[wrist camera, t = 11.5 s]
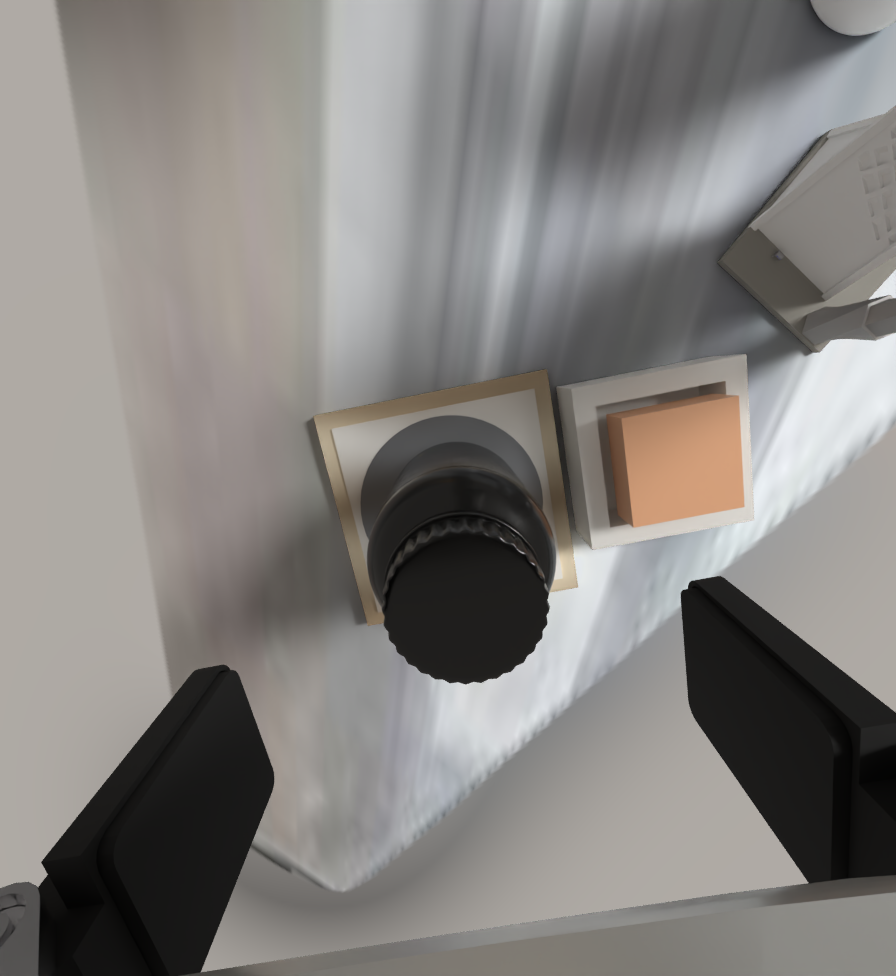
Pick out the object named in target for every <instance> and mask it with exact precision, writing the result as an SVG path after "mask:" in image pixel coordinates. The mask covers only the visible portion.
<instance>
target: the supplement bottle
mask: <svg viewBox="0 0 896 976" xmlns="http://www.w3.org/2000/svg"><path fill="white" fill-rule="evenodd" d="M367 569H368V575H369V580H370V584H371V587H372V590H373V592H374V595H375V597H376V599H377V601H378V602H379V604H380V606H381V607H382V608H381V609H382V612H383V615H384V616H385V617H384V627H385V628H386V629H387V630H388V632H389V633H388V635H389V640H390V641H391V642H392V643H393V644H394V645H395V646H396V650H397V652H398V653H399V654H400V655H402V656H404V657H405V659H406V661H407V662H408V664H410V665H413V666H415V667H417V669H418V670H419V671H420V672H421V673H425V674H429V675H431V677H433V678H434V679H443V680H445V681H447V682H449V683H455V682H460V683H463V684H469V683H472V682H479V683H482V682H484V681H486V680H488V679H497V678H498V677H499V676H501V675H502V674H503V673H508V672H511V671H512V670H513V669H514V668H515V666H517V665H519V664H521V663H523V662H524V661H525V659H526V657H527V656H528V655H529V654H531V653H532V652H534V650H535V647H536V644H537V643H538V642H539V641H540V640H541V639H542V635H543V634H542V631H543V629H544V628H545V627H546V625H547V617H546V616H547V614H548V612H549V609H550V606H549V603H548V601H547V599H548V595H549V592H550V590H551V587H552V584H553V581H554V576H555V571H556V546H555V540H554V536H553V532H552V529H551V526H550V524H549V522H548V520H547V518H546V516H545V514H544V512H543V510H542V509H541V507H540V506H539V504H538V503H537V502H536V500H535V499H534V497H533V496H532V495H531V494H530V492H529V491H528V490H527V488H526V487H525V486H524V484H523V483H522V482H521V480H520V479H519V478H518V476H517V475H516V474H515V472H514V471H513V470H512V469H511V467H510V466H509V465H508V464H507V463H506V462H505V461H504V460H503V459H502V458H501V457H500V456H498V455H497V454H495V453H494V452H492V451H491V450H489V449H487V448H485V447H482V446H480V445H477V444H473V443H468V442H446V443H441V444H438V445H435V446H432V447H430V448H428V449H426V450H424V451H422V452H420V453H419V454H418V455H416V456H415V457H414V458H413V459H411V460H410V461H409V462H408V463H407V465H406V466H405V467H404V468H403V470H402V471H401V472H400V474H399V476H398V477H397V479H396V481H395V483H394V485H393V487H392V489H391V490H390V492H389V494H388V496H387V498H386V500H385V502H384V504H383V506H382V508H381V510H380V512H379V514H378V516H377V518H376V520H375V523H374V525H373V528H372V531H371V534H370V538H369V543H368V549H367Z"/></svg>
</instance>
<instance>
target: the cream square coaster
mask: <svg viewBox="0 0 896 976" xmlns="http://www.w3.org/2000/svg"><path fill="white" fill-rule="evenodd" d="M313 417H314V421H315V425H316V429H317V433H318V436H319V440H320V444H321V448H322V452H323V456H324V459H325V463H326V467H327V471H328V475H329V479H330V482H331V486H332V490H333V494H334V498H335V502H336V505H337V509H338V513H339V517H340V521H341V525H342V528H343V532H344V536H345V540H346V544H347V548H348V551H349V555H350V559H351V563H352V567H353V571H354V574H355V578H356V582H357V586H358V590H359V594H360V597H361V601H362V605H363V609H364V613H365V617H366V620H367V624H368V626H370V625H375V624H381V623H384V617H385V616H384V615H383V612H382V609H381V608H382V607H381V606H380V604H379V602H378V601H377V599H376V597H375V595H374V592H373V590H372V587H371V584H370V580H369V575H368V569H367V549H368V543H369V538H370V534H371V531H372V528H373V525H374V523H375V520H376V518H377V516H378V514H379V512H380V510H381V508H382V506H383V504H384V502H385V500H386V498H387V496H388V494H389V492H390V490H391V489H392V487H393V485H394V483H395V481H396V479H397V477H398V476H399V474H400V472H401V471H402V470H403V468H404V467H405V466H406V465H407V463H408V462H409V461H410V460H411V459H413V458H414V457H415V456H416V455H418V454H419V453H420V452H422V451H424V450H426V449H428V448H430V447H432V446H435V445H438V444H441V443H446V442H468V443H473V444H477V445H480V446H482V447H485V448H487V449H489V450H491V451H492V452H494V453H495V454H497V455H498V456H500V457H501V458H502V459H503V460H504V461H505V462H506V463H507V464H508V465H509V466H510V467H511V469H512V470H513V471H514V472H515V474H516V475H517V476H518V478H519V479H520V480H521V482H522V483H523V484H524V486H525V487H526V488H527V490H528V491H529V492H530V494H531V495H532V496H533V497H534V499H535V500H536V502H537V503H538V504H539V506H540V507H541V509H542V510H543V512H544V514H545V516H546V518H547V520H548V522H549V524H550V526H551V529H552V532H553V536H554V540H555V546H556V571H555V576H554V581H553V584H552V587H551V590H550V592H555V591H561V590H566V589H572V588H577V587H578V583H577V576H576V569H575V562H574V555H573V548H572V541H571V534H570V527H569V520H568V513H567V506H566V499H565V492H564V485H563V478H562V471H561V464H560V457H559V450H558V443H557V436H556V429H555V422H554V415H553V408H552V401H551V394H550V387H549V380H548V373H547V369H544V370H539V371H534V372H529V373H524V374H519V375H514V376H509V377H504V378H499V379H494V380H489V381H484V382H479V383H474V384H469V385H464V386H459V387H454V388H449V389H444V390H439V391H434V392H429V393H424V394H419V395H414V396H409V397H404V398H399V399H394V400H389V401H384V402H379V403H374V404H369V405H364V406H359V407H354V408H349V409H344V410H339V411H334V412H329V413H324V414H319V415H315V416H313ZM550 592H549V593H550Z"/></svg>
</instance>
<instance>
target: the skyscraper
mask: <svg viewBox="0 0 896 976" xmlns="http://www.w3.org/2000/svg"><path fill="white" fill-rule="evenodd" d="M717 263H718V264H719V265H720V266H721V267H722V268H723V269H724V270H726V271H727V272H728V273H729V274H730V275H731V276H732V277H733V278H734V279H735V280H736V281H737V282H738V283H739V284H740V285H742V286H743V287H744V288H745V289H746V290H747V291H748V292H749V293H750V294H751V295H752V296H753V297H754V298H755V299H757V300H758V301H759V302H760V303H761V304H762V305H763V306H764V307H765V308H766V309H767V310H768V311H769V312H770V313H771V314H773V315H774V316H775V317H776V318H777V319H778V320H779V321H780V322H781V323H782V324H783V325H784V326H785V327H786V328H787V329H789V330H790V331H791V332H792V333H793V334H794V335H795V336H796V337H797V338H798V339H799V340H800V341H801V342H802V343H804V344H805V345H806V346H807V347H808V348H809V349H810V350H811V351H812V352H813V353H816V352H821V350H822V349H823V348H824V347H825V346H826V345H827V344H828V343H829V342H830V341H831V340H835V339H860V340H875V341H876V340H878V339H881V338H883V337H886V336H888V335H891V334H893V333H896V298H893V297H892V296H891V295H888V296H884V297H879V298H875V299H871V300H868V299H869V298H870V297H871V296H872V295H873V293H874V292H875V291H876V290H877V289H878V288H879V287H880V286H881V285H882V284H883V282H884V281H885V280H886V279H887V278H888V277H889V276H890V275H891V274H892V273H893V272H894V270H895V269H896V106H894V107H893V108H892V109H890V110H889V111H888V112H887V113H885V114H882V115H879V116H876V117H872V118H869V119H865V120H862V121H858V122H855V123H852V124H848V125H845V126H841V127H838V128H834V129H831V130H830V131H828V132H826V133H825V134H824V135H823V136H822V137H821V138H820V139H819V141H818V142H817V143H816V144H815V145H814V147H813V148H812V149H811V150H810V151H809V153H808V154H807V155H806V156H805V157H804V159H803V160H802V161H801V162H800V163H799V165H798V166H797V167H796V168H795V169H794V171H793V172H792V173H791V174H790V175H789V177H788V178H787V179H786V180H785V182H784V183H783V184H782V185H781V186H780V188H779V189H778V190H777V191H776V192H775V194H774V195H773V196H772V197H771V198H770V200H769V201H768V202H767V203H766V204H765V206H764V207H763V208H762V209H761V210H760V212H759V213H758V214H757V215H756V216H755V218H754V219H753V220H752V221H751V222H750V224H749V225H748V226H747V227H746V228H745V230H744V231H743V232H742V233H741V234H740V236H739V237H738V238H737V239H736V240H735V242H734V243H733V244H732V245H731V247H730V248H729V249H728V250H727V251H726V253H725V254H724V255H723V256H722V257H721V259H720V260H719V261H718V262H717Z"/></svg>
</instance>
